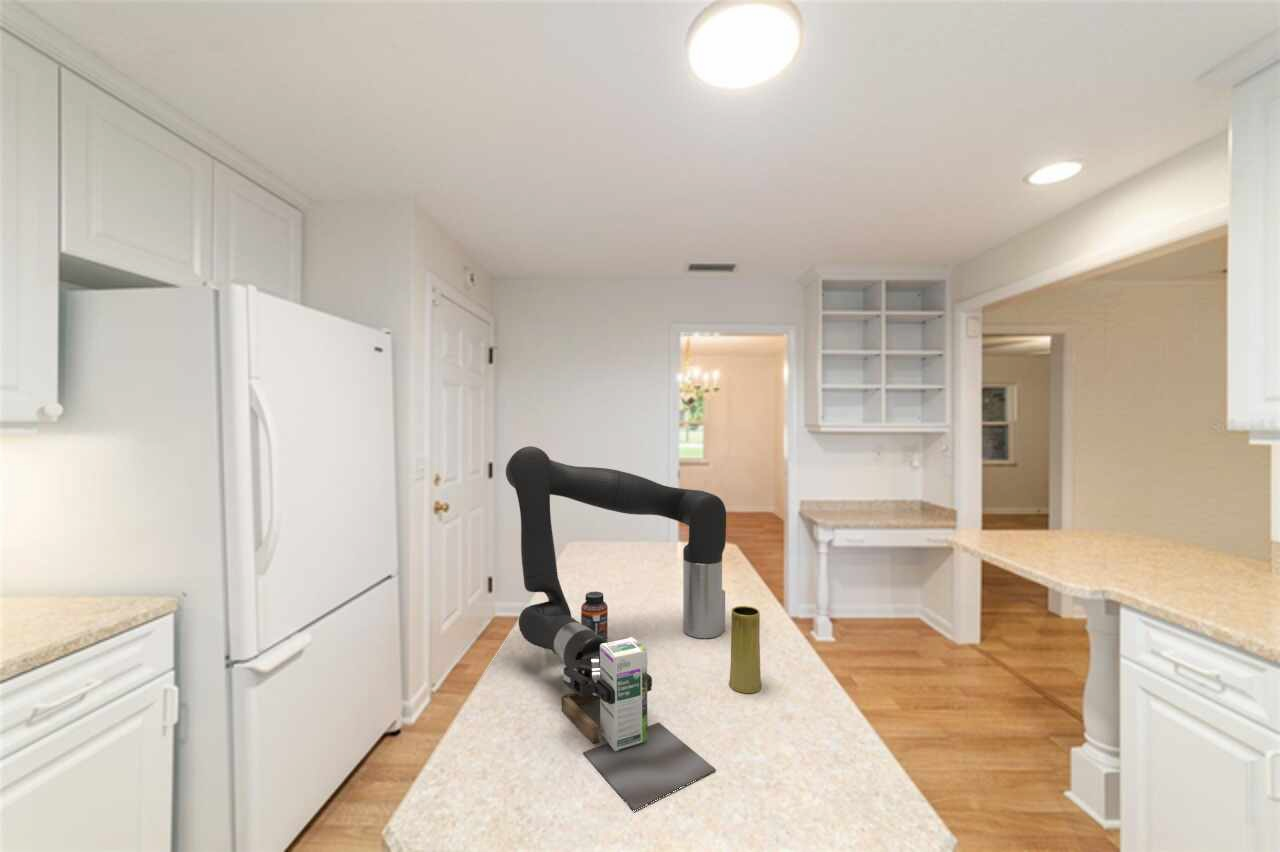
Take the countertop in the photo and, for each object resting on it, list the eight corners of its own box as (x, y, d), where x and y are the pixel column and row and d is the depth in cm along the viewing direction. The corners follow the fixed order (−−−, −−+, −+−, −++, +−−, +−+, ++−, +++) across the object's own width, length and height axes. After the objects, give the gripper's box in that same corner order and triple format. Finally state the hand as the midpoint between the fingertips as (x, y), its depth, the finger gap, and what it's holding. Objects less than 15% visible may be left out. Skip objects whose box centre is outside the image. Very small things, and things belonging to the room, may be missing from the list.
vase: (763, 680, 100) (763, 607, 100) (759, 696, 95) (760, 618, 94) (731, 675, 102) (731, 603, 102) (726, 690, 97) (726, 614, 96)
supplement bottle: (603, 651, 113) (603, 599, 113) (577, 648, 114) (577, 597, 114) (610, 639, 119) (610, 590, 119) (585, 637, 120) (585, 589, 120)
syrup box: (614, 753, 78) (614, 657, 78) (599, 731, 83) (599, 641, 83) (648, 742, 80) (648, 649, 80) (631, 722, 86) (631, 635, 85)
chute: (549, 715, 89) (549, 700, 89) (619, 691, 96) (619, 677, 96) (634, 812, 67) (634, 792, 67) (715, 771, 74) (715, 753, 74)
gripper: (544, 638, 89) (590, 680, 75) (616, 620, 97) (669, 655, 83) (544, 681, 90) (590, 731, 76) (616, 660, 98) (669, 701, 84)
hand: (631, 691), depth 80 cm, fingers closed on syrup box, 6 cm apart
